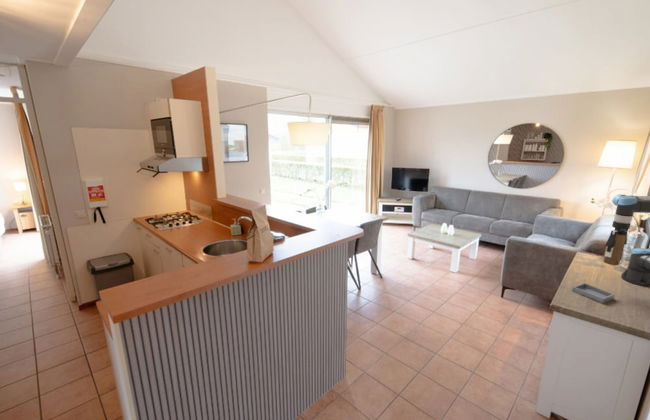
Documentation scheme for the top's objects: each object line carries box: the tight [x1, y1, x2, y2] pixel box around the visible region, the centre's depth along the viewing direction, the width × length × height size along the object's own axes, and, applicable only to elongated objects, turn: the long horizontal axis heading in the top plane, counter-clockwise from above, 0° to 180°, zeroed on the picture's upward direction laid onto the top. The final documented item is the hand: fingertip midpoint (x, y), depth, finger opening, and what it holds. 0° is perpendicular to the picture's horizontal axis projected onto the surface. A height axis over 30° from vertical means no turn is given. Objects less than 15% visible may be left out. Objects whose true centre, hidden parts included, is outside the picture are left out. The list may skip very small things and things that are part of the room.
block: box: [602, 233, 626, 266], centre depth 182 cm, size 11×8×20 cm
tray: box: [571, 282, 615, 304], centre depth 183 cm, size 13×16×3 cm
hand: (613, 255), depth 184 cm, fingers closed on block, 11 cm apart
